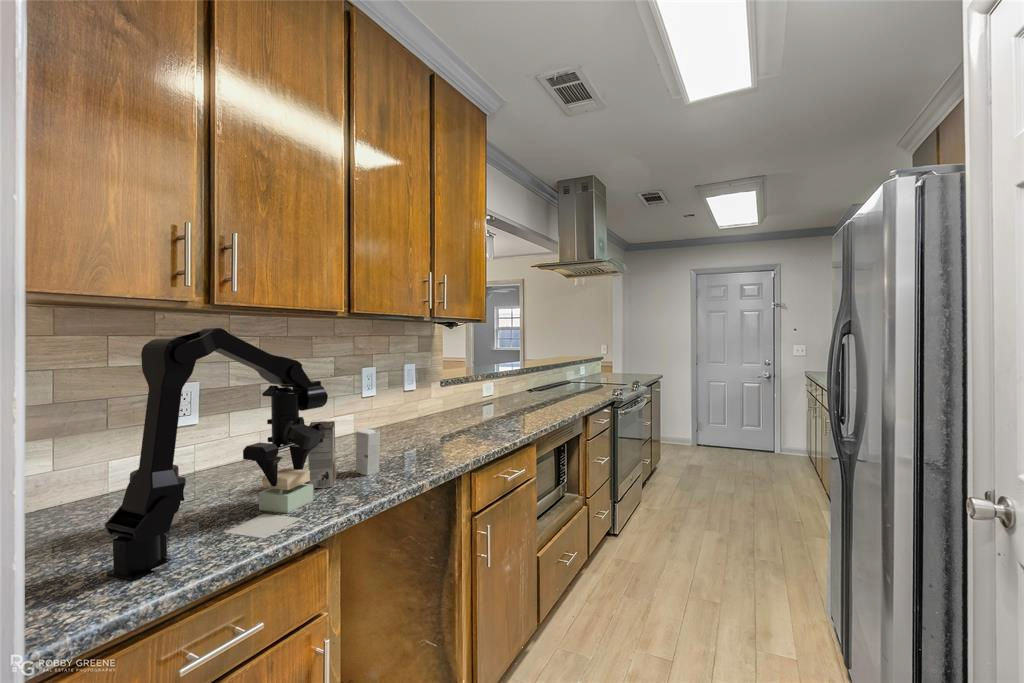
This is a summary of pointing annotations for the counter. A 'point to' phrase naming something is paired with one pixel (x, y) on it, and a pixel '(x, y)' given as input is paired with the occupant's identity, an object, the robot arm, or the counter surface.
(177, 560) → the counter surface
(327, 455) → the coffee box
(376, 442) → the skincare box
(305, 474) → the lid
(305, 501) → the sage green tray
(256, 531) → the mat
